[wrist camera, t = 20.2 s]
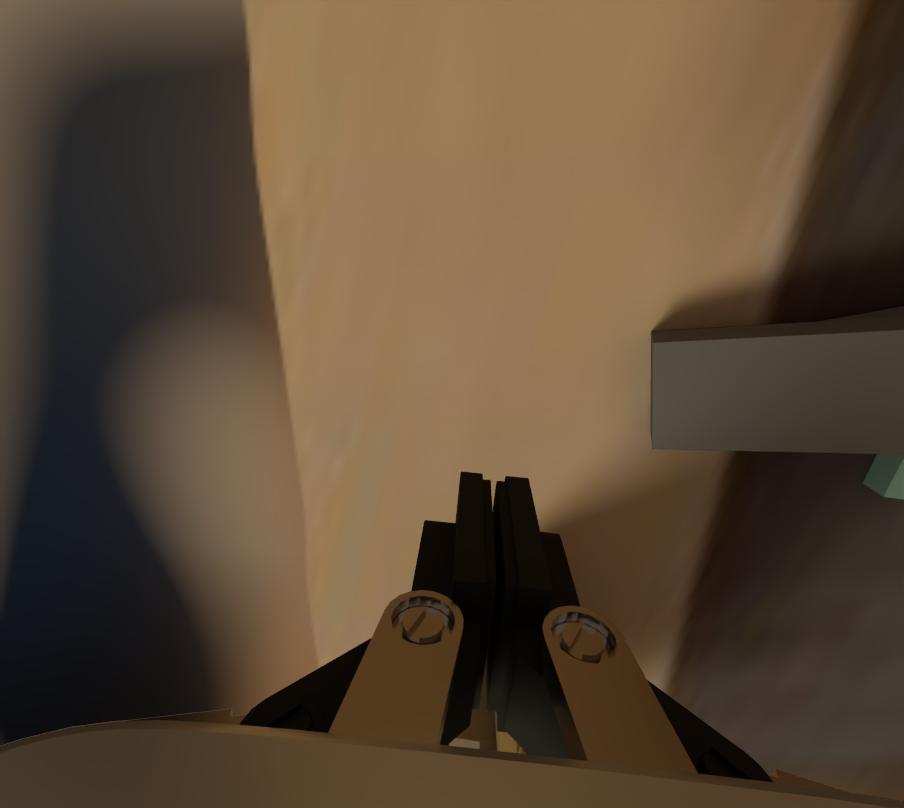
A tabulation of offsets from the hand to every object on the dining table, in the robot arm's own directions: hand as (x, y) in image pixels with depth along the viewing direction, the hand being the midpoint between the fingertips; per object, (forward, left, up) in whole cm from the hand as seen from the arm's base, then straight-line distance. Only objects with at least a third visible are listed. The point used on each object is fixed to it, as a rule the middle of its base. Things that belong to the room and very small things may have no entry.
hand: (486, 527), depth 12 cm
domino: (+1, -8, -11) cm, 13 cm away
